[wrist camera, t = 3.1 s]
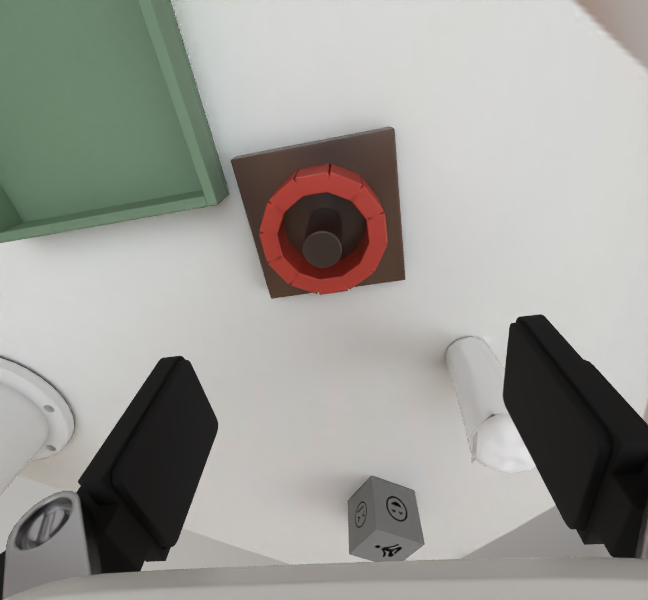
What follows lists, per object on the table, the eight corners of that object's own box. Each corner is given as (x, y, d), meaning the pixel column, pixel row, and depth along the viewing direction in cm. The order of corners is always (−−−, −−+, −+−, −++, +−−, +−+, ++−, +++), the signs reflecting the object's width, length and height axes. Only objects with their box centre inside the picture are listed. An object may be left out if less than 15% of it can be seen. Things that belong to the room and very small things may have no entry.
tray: (27, 230, 23) (-5, 244, 21) (-169, -86, 16) (-247, -114, 14) (229, 193, 22) (217, 204, 20) (116, -177, 14) (77, -224, 12)
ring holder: (273, 290, 25) (259, 333, 21) (235, 156, 21) (207, 174, 16) (402, 271, 24) (417, 313, 20) (391, 126, 20) (407, 136, 15)
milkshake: (444, 318, 26) (497, 432, 17) (509, 338, 26) (592, 457, 18) (416, 364, 28) (451, 485, 19) (477, 381, 29) (537, 505, 20)
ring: (282, 282, 23) (277, 301, 21) (254, 176, 20) (245, 186, 18) (386, 267, 23) (391, 284, 21) (375, 154, 19) (380, 161, 17)
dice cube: (388, 514, 39) (394, 567, 34) (347, 501, 38) (349, 554, 33) (414, 490, 36) (424, 544, 32) (371, 475, 35) (376, 529, 31)
